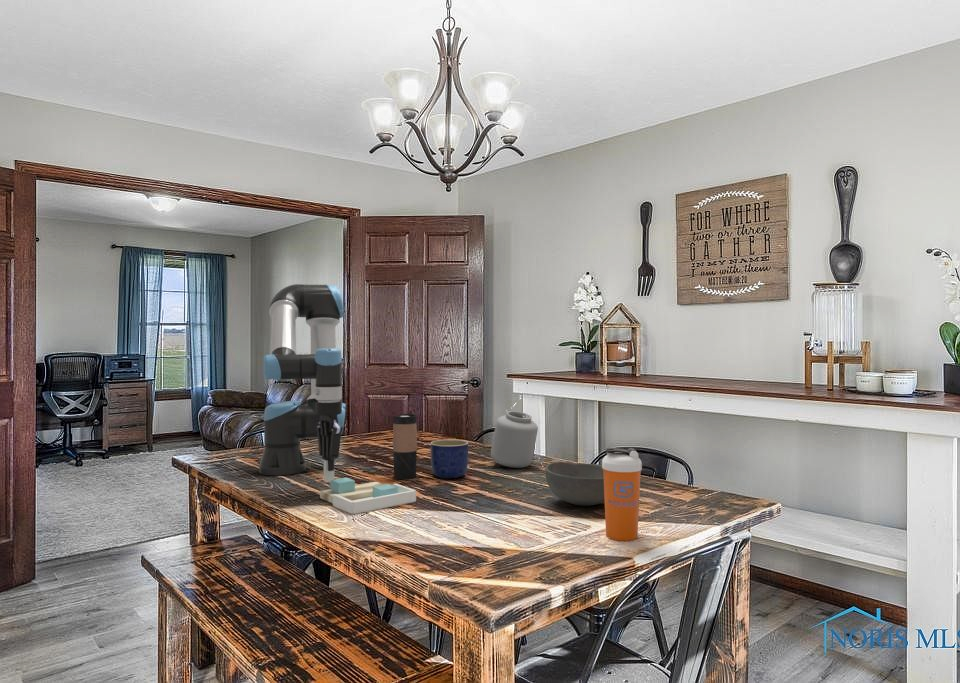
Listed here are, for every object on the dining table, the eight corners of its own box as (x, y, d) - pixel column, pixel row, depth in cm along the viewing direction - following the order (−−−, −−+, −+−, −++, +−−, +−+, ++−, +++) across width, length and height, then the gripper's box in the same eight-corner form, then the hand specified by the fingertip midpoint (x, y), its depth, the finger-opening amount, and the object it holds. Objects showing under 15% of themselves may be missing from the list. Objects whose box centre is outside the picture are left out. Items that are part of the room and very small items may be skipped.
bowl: (574, 518, 160) (574, 479, 160) (531, 500, 178) (531, 464, 178) (636, 508, 170) (636, 471, 170) (589, 491, 188) (589, 457, 188)
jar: (550, 466, 224) (550, 394, 223) (526, 473, 212) (526, 398, 212) (506, 459, 235) (506, 391, 235) (482, 466, 224) (482, 394, 224)
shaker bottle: (597, 530, 151) (597, 446, 150) (634, 529, 151) (634, 445, 151) (608, 543, 142) (608, 453, 142) (647, 541, 143) (647, 452, 142)
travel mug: (412, 480, 203) (412, 417, 203) (389, 478, 204) (389, 416, 204) (419, 474, 210) (419, 414, 210) (397, 473, 212) (397, 413, 212)
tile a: (372, 497, 179) (372, 486, 179) (388, 494, 182) (388, 484, 182) (382, 501, 175) (382, 490, 175) (397, 498, 178) (397, 487, 178)
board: (320, 497, 181) (320, 490, 181) (375, 488, 192) (375, 481, 192) (336, 505, 173) (336, 497, 173) (393, 494, 185) (393, 487, 185)
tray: (332, 505, 173) (332, 494, 173) (396, 493, 186) (395, 483, 185) (352, 514, 164) (352, 502, 164) (417, 501, 177) (417, 490, 177)
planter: (423, 478, 205) (423, 444, 205) (440, 470, 217) (440, 438, 217) (459, 481, 201) (459, 446, 201) (474, 473, 212) (474, 440, 212)
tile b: (330, 490, 181) (330, 479, 181) (346, 487, 185) (346, 477, 184) (338, 493, 177) (338, 483, 177) (354, 491, 181) (354, 480, 181)
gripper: (307, 400, 190) (307, 479, 190) (326, 403, 180) (327, 487, 180) (330, 398, 195) (330, 475, 195) (350, 401, 185) (351, 483, 185)
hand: (329, 481), depth 187 cm, fingers closed
